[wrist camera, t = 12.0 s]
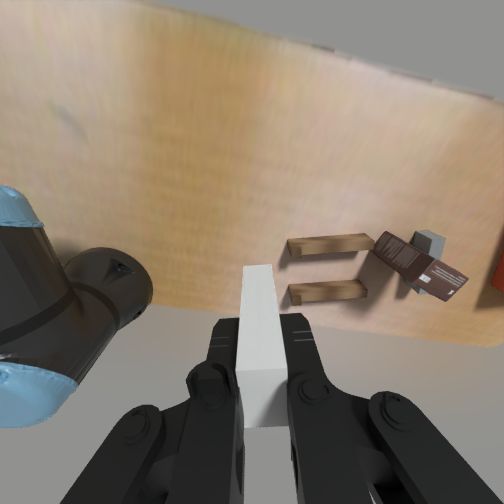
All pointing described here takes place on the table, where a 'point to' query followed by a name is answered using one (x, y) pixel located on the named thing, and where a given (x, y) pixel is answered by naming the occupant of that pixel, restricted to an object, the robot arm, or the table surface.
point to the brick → (499, 275)
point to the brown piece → (335, 287)
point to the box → (419, 267)
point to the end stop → (427, 249)
